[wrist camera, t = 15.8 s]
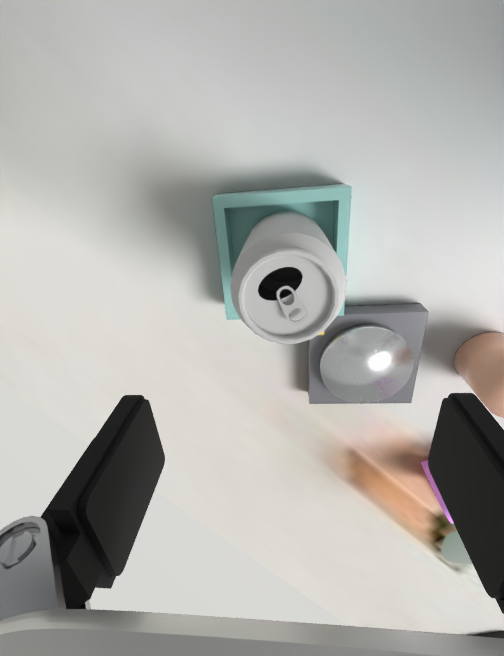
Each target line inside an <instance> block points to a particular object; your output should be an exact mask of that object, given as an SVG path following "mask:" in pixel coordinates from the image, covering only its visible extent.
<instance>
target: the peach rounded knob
mask: <svg viewBox="0 0 504 656" xmlns="http://www.w3.org/2000/svg"><path fill="white" fill-rule="evenodd" d="M454 366H455V369H456V370H457V372H458V373H459V374H460V376H461V377H462V378H463V379H464V380H465V382H466V383H467V384H468V385H469V386H470V388H471V389H472V390H473V391H474V392H475V394H476V395H477V396H478V397H479V398H480V400H481V401H482V402H483V403H484V404H485V406H486V407H487V408H488V409H489V410H490V411H491V412H492V413H493V414H495V415H497V416H500V417H503V418H504V334H503V333H499V332H487V333H482V334H479V335H476V336H474V337H472V338H470V339H469V340H467V341H466V342H465V343H464V344H463V345H462V346H461V347H460V348H459V349H458V351H457V353H456V355H455V358H454Z"/></svg>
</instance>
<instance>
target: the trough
mask: <svg viewBox="0 0 504 656" xmlns="http://www.w3.org/2000/svg"><path fill="white" fill-rule="evenodd" d="M350 204H351V186H349V185H346V184H335V185H322V186H309V187H296V188H283V189H270V190H257V191H244V192H231V193H218V194H217V195H215V196H213V197H212V205H213V213H214V221H215V229H216V237H217V245H218V253H219V261H220V269H221V277H222V285H223V293H224V301H225V308H226V316H227V320H233V319H240V318H239V316H238V314H237V312H236V310H235V307H234V305H233V303H232V297H231V289H230V284H231V279H232V275H233V270H234V267H235V265H236V262H237V260H238V258H239V255H240V253H241V251H242V248H243V246H244V244H245V241H246V239H247V237H248V235H249V234H250V232H251V230H252V229H253V227H254V226H255V225H256V224H257V223H258V222H259V221H260V220H261V219H263V218H264V217H265V216H268V215H270V214H272V213H275V212H277V211H290V210H291V211H295V212H299V213H303V214H305V215H307V216H308V217H310V218H311V219H313V220H314V221H316V223H317V224H318V226H319V227H320V228H321V230H322V231H323V232H324V234H325V236H326V237H327V239H328V241H329V242H330V244H331V246H332V247H333V249H334V251H335V252H336V254H337V256H338V257H339V259H340V261H341V263H342V266H343V269H344V272H345V276H346V272H347V255H348V238H349V221H350ZM344 306H345V300H344V303H343V305H342V308H341V310H340V312H339V314H338V315H337V316H344Z"/></svg>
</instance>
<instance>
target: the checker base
mask: <svg viewBox="0 0 504 656" xmlns="http://www.w3.org/2000/svg"><path fill="white" fill-rule="evenodd" d="M427 317H428V311H427V310H426V309H425V308H424V307H423V306H422V305H421V304H420V303H418V304H392V305H366V306H344V316H336V318H335V319H334V320H333V321H332V322H331V324H330V325H329V326H328V327H327V328H326V329H325V330H324V331H323V332H321V333H320V334H318V335H317V336H315V337H314V338H312V339H310V340H308V395H309V403H310V404H345V403H351V402H347V401H344V400H342V399H340V398H338V397H336V396H335V395H333V394H332V393H331V392H330V391H329V390H328V389H327V388H326V386H325V384H324V383H323V380H322V377H321V372H320V364H319V362H320V356H321V353H322V350H323V348H324V347H325V345H326V344H327V342H328V341H329V340H330V339H331V338H332V337H333V336H334V335H336V334H337V333H338V332H340V331H342V330H343V329H346V328H348V327H350V326H354V325H358V324H365V323H374V324H380V325H384V326H387V327H389V328H391V329H393V330H395V331H396V332H397V333H399V334H400V335H401V336H402V337H403V339H404V340H405V342H406V343H407V344H408V346H409V347H410V349H411V352H412V354H413V360H414V365H413V370H412V374H411V376H410V378H409V380H408V381H407V383H406V384H405V385H404V386H403V387H402V388H401V389H400V390H399V391H398V392H397V393H395V394H394V395H392V396H390V397H388V398H386V399H384V400H381V401H378V402H373V403H411V401H412V396H413V391H414V385H415V380H416V375H417V370H418V364H419V359H420V354H421V349H422V343H423V338H424V333H425V328H426V322H427Z"/></svg>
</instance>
